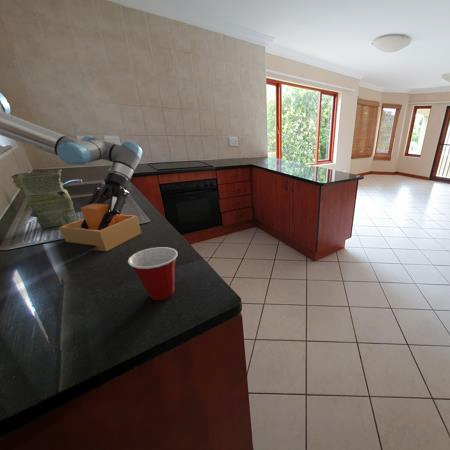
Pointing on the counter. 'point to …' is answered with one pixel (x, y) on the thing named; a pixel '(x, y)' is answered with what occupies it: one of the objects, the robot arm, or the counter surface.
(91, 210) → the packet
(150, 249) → the plastic cup
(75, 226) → the open box
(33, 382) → the counter surface
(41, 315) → the counter surface
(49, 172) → the pouch
